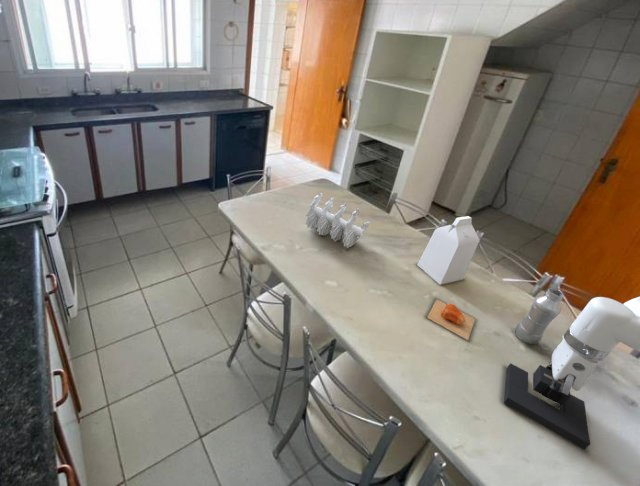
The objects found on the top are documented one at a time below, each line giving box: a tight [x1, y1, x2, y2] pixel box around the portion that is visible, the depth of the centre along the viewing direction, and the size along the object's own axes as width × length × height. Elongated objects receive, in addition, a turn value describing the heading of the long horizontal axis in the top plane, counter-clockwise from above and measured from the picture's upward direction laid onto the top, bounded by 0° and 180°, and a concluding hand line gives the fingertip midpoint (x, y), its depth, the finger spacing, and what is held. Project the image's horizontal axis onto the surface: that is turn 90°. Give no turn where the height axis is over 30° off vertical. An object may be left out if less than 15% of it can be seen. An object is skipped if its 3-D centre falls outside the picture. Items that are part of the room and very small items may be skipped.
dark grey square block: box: [532, 364, 571, 406], centre depth 86 cm, size 6×6×4 cm
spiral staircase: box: [305, 192, 370, 249], centre depth 145 cm, size 18×18×25 cm
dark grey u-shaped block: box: [503, 362, 591, 450], centre depth 86 cm, size 16×13×2 cm
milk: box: [417, 215, 480, 286], centre depth 126 cm, size 12×12×26 cm
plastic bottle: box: [514, 287, 565, 345], centre depth 101 cm, size 6×7×20 cm
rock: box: [426, 299, 476, 341], centre depth 110 cm, size 12×12×4 cm
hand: (548, 387), depth 87 cm, fingers closed on dark grey square block, 6 cm apart
